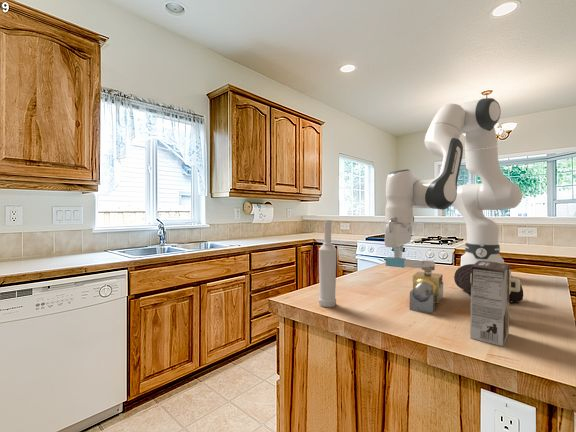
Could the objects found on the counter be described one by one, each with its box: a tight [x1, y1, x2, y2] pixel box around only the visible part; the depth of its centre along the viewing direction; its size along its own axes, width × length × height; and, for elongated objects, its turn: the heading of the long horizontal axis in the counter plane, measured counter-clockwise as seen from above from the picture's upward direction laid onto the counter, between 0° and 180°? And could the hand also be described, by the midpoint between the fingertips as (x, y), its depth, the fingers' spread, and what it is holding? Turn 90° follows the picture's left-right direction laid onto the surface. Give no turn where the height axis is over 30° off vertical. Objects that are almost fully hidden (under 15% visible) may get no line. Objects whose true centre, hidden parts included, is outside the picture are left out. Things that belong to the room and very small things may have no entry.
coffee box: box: [469, 261, 511, 347], centre depth 68 cm, size 9×6×16 cm
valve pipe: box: [409, 270, 444, 315], centre depth 92 cm, size 20×7×10 cm, turn 146°
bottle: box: [318, 219, 338, 308], centre depth 90 cm, size 5×5×25 cm
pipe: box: [453, 264, 524, 303], centre depth 99 cm, size 10×15×15 cm
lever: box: [385, 256, 436, 272], centre depth 95 cm, size 14×4×3 cm, turn 56°
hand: (398, 258), depth 104 cm, fingers closed
